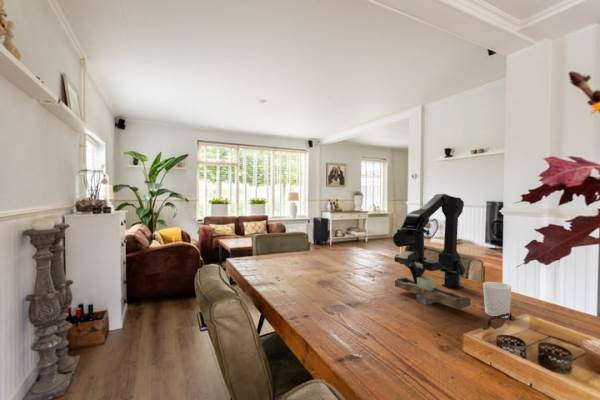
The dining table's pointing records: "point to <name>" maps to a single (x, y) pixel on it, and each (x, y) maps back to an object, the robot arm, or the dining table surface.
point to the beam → (433, 294)
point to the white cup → (497, 298)
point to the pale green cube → (425, 283)
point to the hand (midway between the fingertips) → (416, 283)
